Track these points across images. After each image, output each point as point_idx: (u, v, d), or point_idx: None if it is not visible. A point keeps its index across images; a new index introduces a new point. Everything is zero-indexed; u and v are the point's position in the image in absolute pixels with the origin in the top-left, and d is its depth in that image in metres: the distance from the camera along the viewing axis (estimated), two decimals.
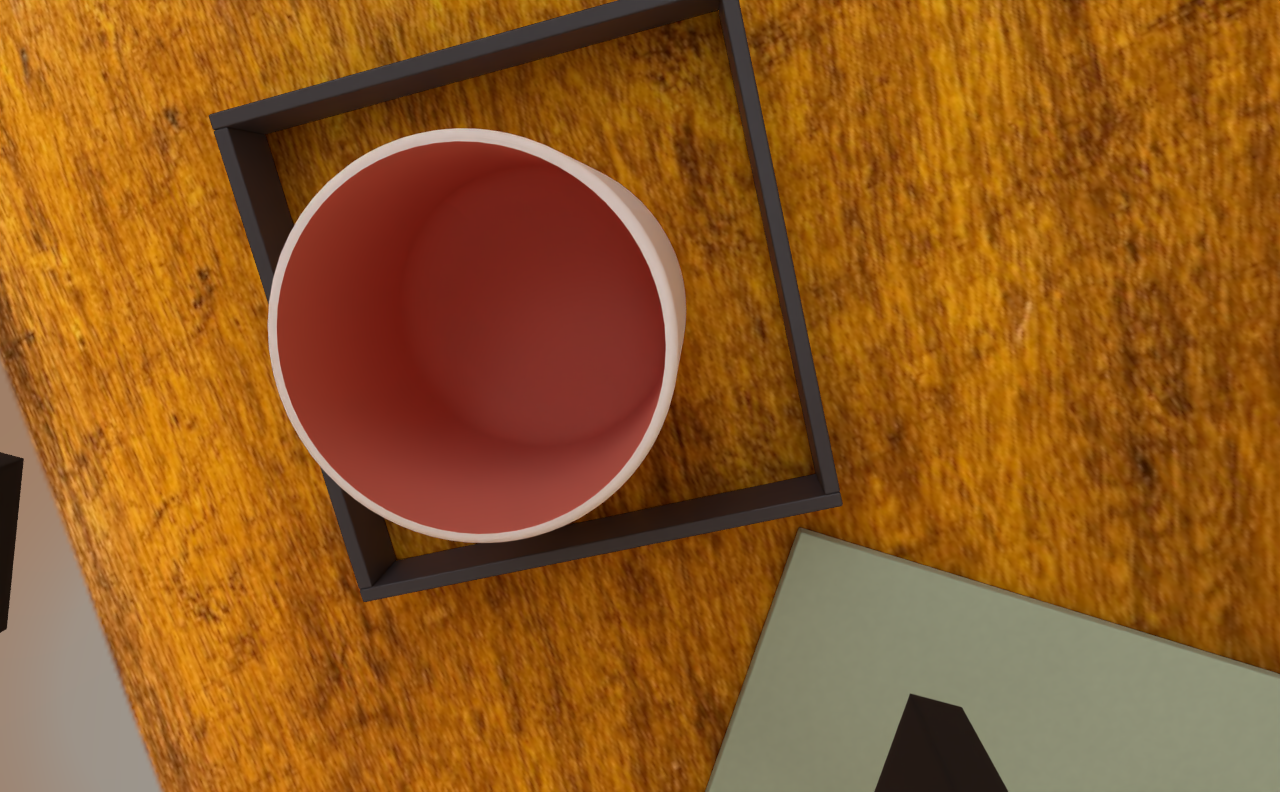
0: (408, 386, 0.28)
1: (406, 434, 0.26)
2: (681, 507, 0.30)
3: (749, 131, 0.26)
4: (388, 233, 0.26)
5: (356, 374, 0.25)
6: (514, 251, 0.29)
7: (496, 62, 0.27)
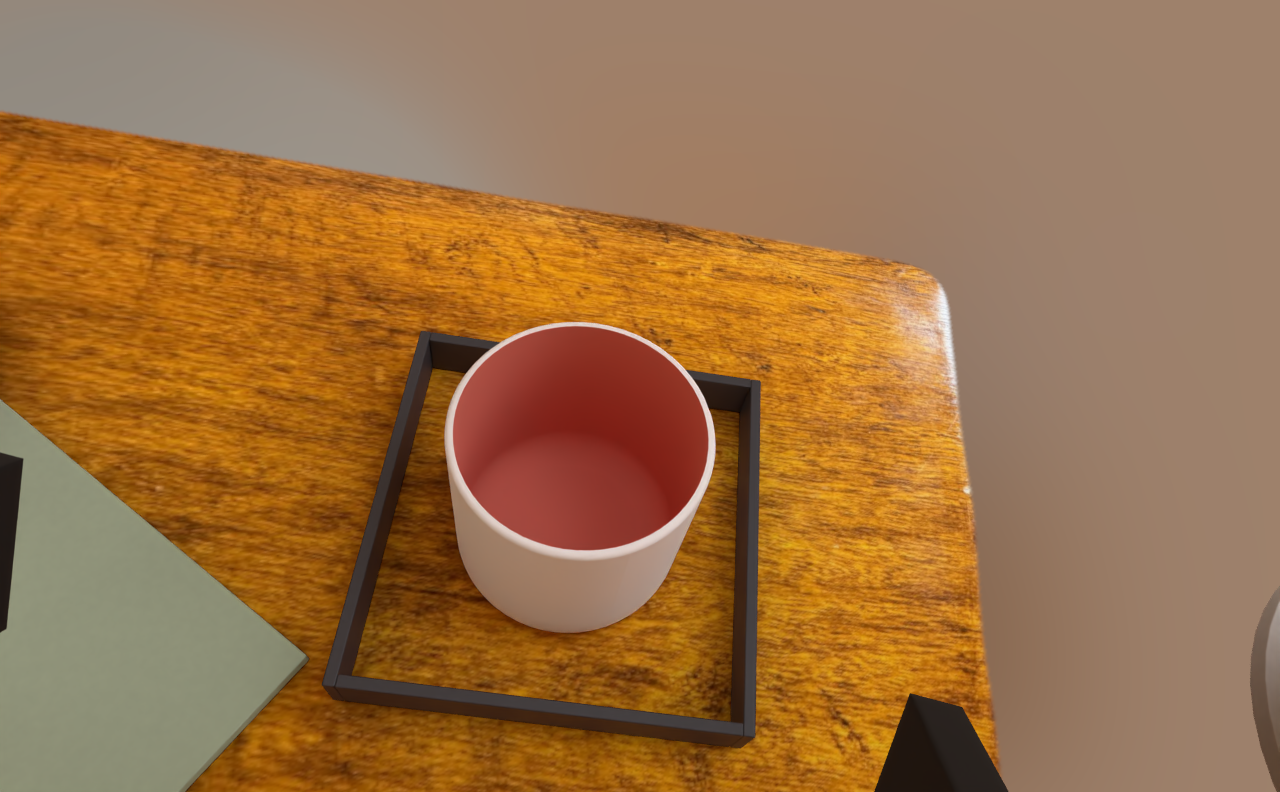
0: (554, 416, 0.40)
1: (530, 394, 0.37)
2: (375, 569, 0.37)
3: (640, 711, 0.34)
4: (658, 441, 0.38)
5: (581, 380, 0.37)
6: (613, 528, 0.40)
7: (740, 561, 0.39)
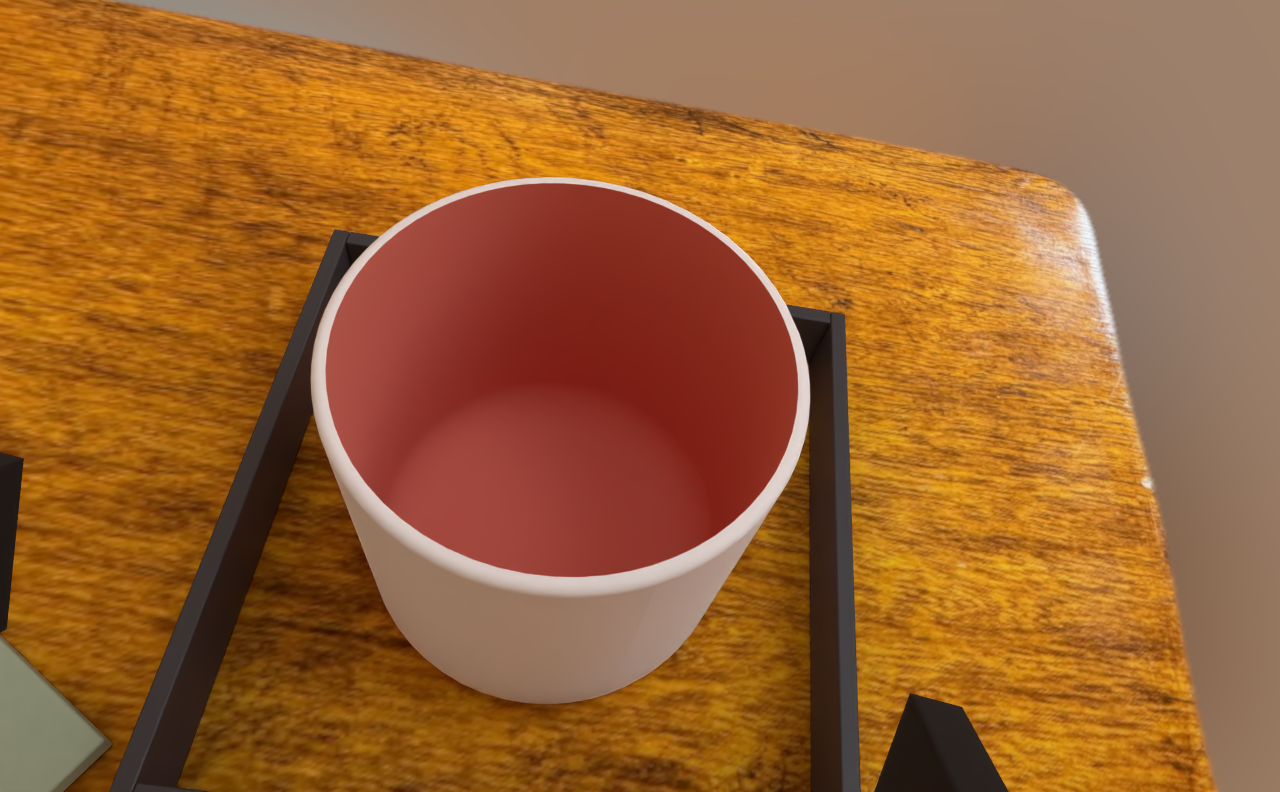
0: (532, 357, 0.25)
1: (490, 313, 0.23)
2: (237, 594, 0.23)
3: None
4: (695, 394, 0.24)
5: (574, 293, 0.23)
6: (621, 531, 0.26)
7: (822, 588, 0.25)
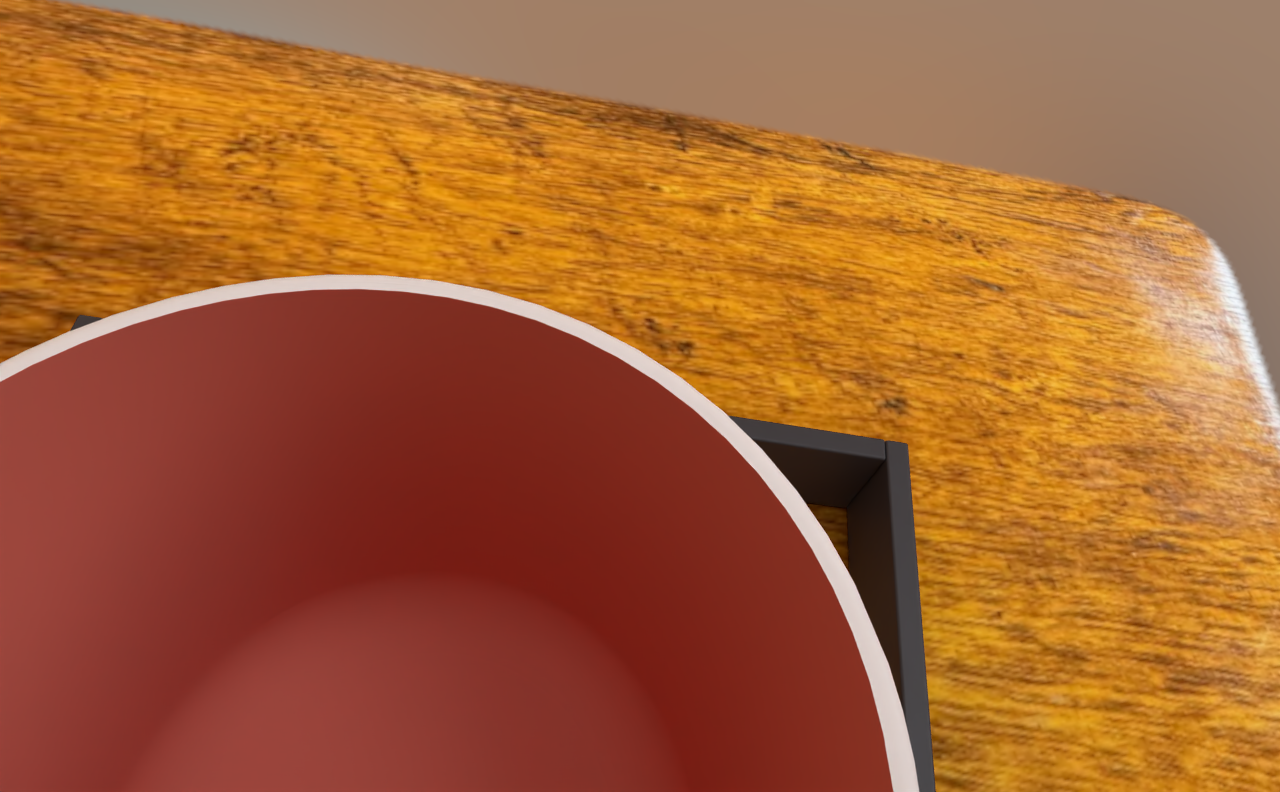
0: (386, 546, 0.15)
1: (278, 502, 0.12)
2: None
3: None
4: (663, 634, 0.13)
5: (434, 464, 0.12)
6: None
7: None
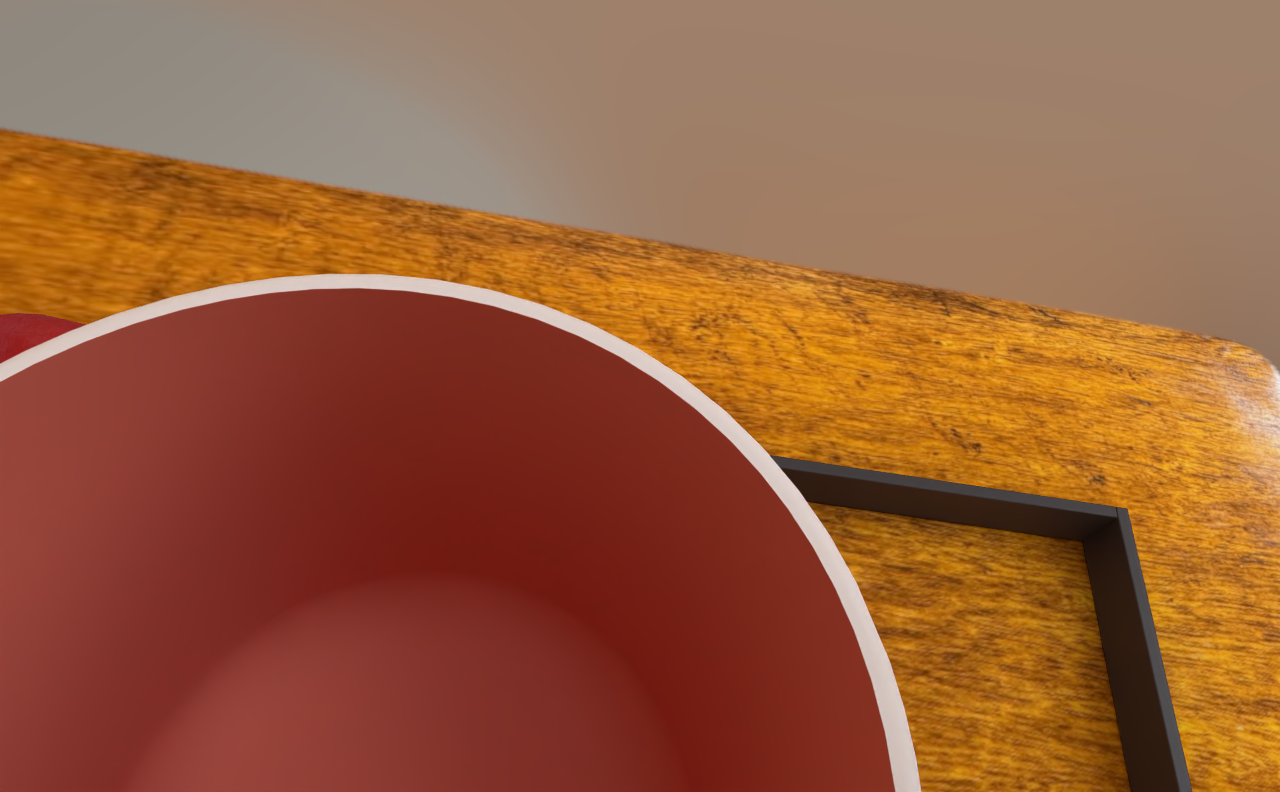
0: (387, 545, 0.15)
1: (279, 502, 0.12)
2: None
3: None
4: (663, 634, 0.13)
5: (435, 463, 0.12)
6: None
7: (1147, 761, 0.30)
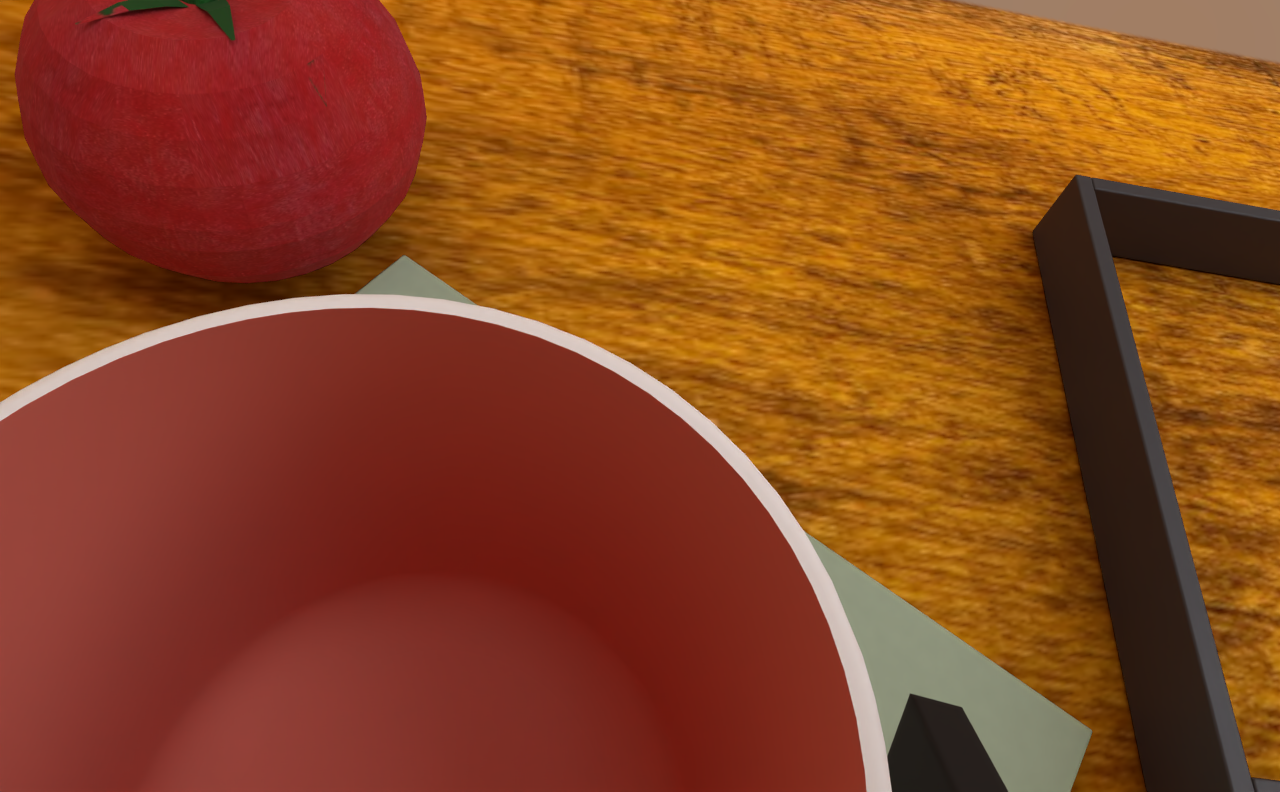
0: (392, 547, 0.15)
1: (292, 506, 0.13)
2: None
3: None
4: (657, 631, 0.14)
5: (440, 469, 0.13)
6: None
7: None
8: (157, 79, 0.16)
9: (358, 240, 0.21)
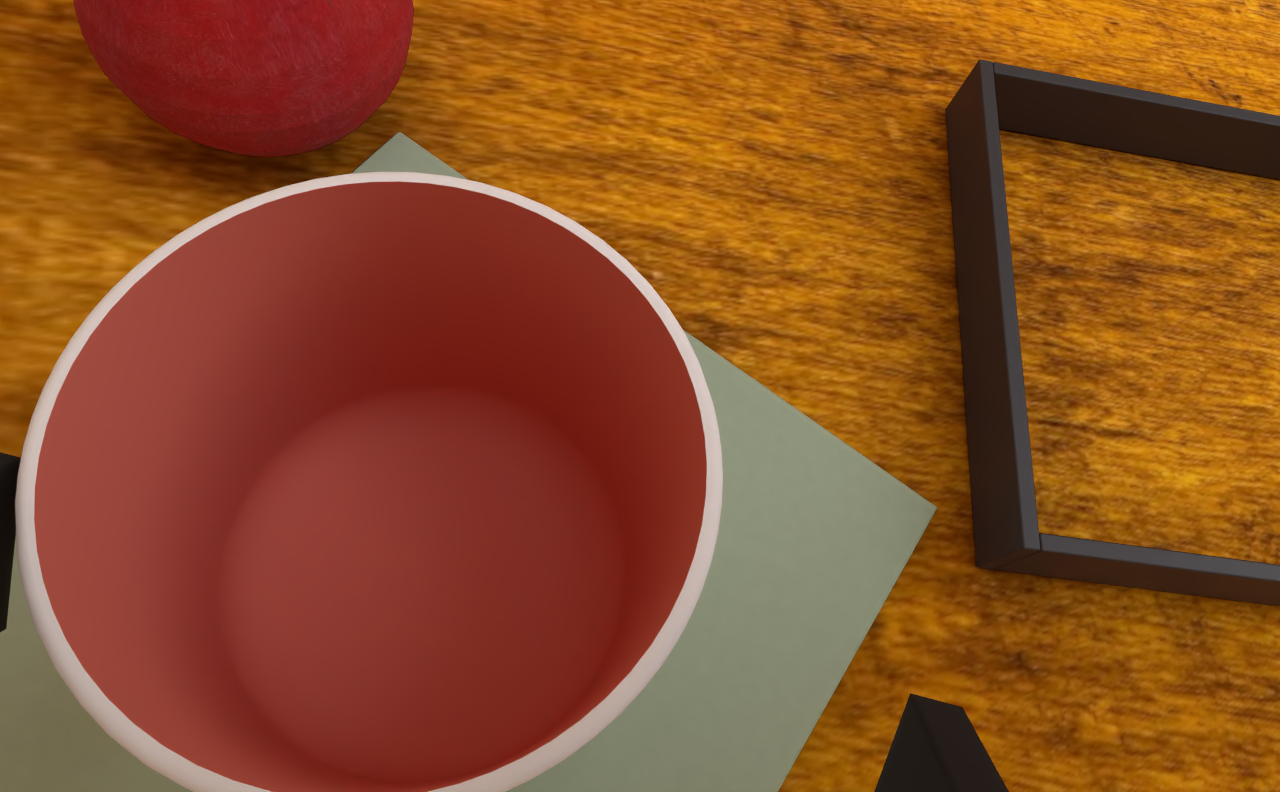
0: (406, 362, 0.21)
1: (336, 325, 0.18)
2: None
3: None
4: (601, 419, 0.19)
5: (443, 299, 0.18)
6: (520, 566, 0.22)
7: None
8: None
9: (361, 120, 0.25)
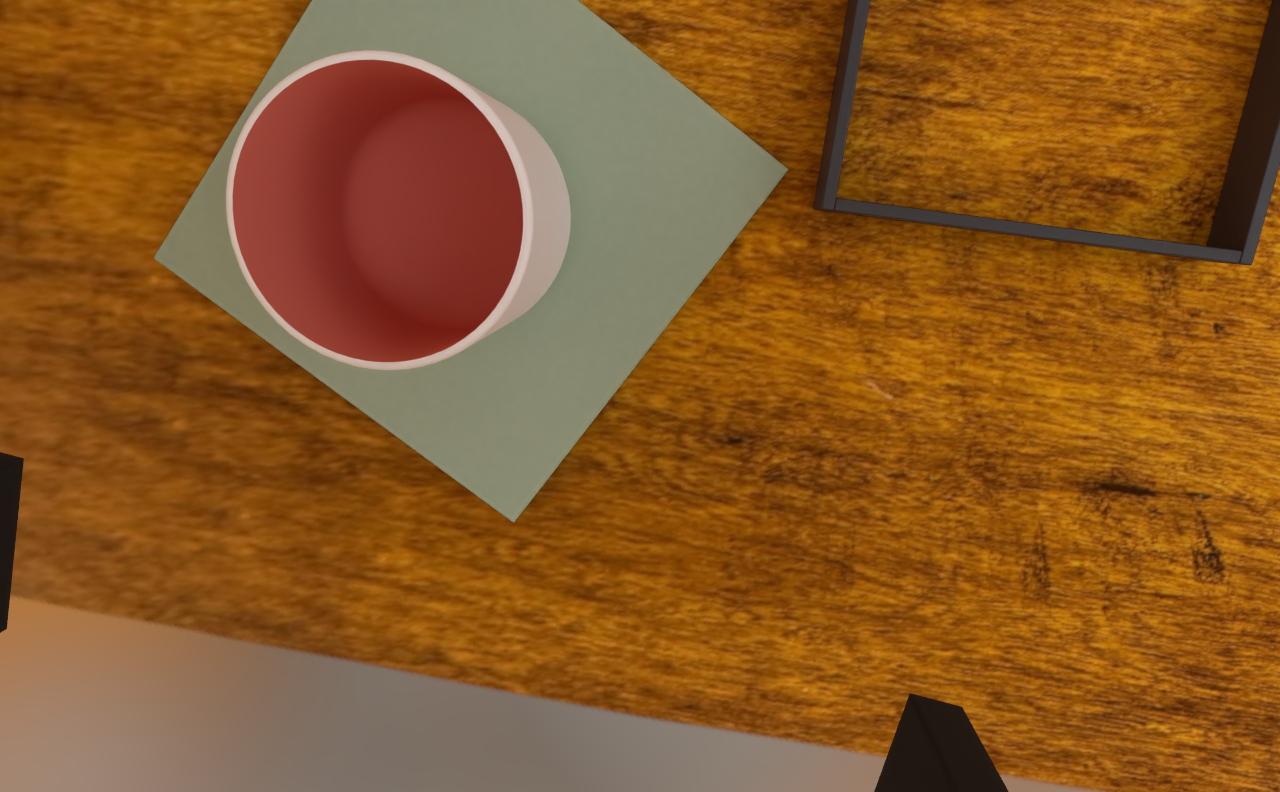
0: (415, 94, 0.33)
1: (361, 95, 0.31)
2: None
3: (1135, 237, 0.34)
4: None
5: (416, 80, 0.30)
6: (507, 210, 0.36)
7: (1274, 61, 0.33)
8: None
9: None
